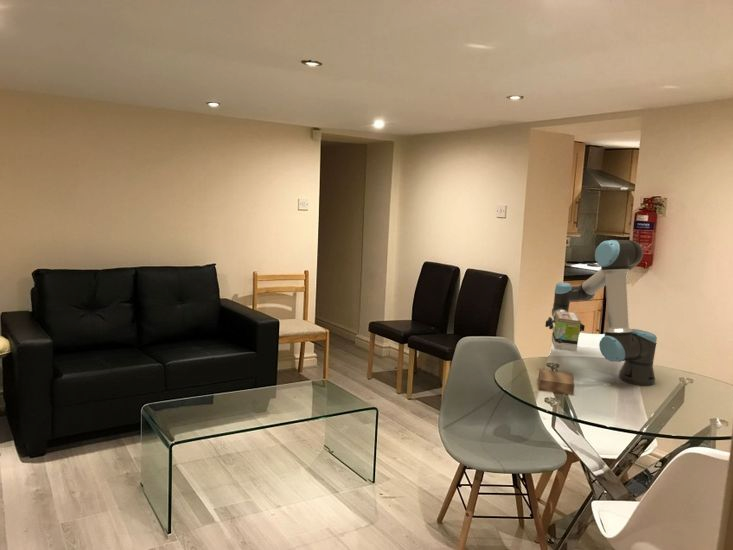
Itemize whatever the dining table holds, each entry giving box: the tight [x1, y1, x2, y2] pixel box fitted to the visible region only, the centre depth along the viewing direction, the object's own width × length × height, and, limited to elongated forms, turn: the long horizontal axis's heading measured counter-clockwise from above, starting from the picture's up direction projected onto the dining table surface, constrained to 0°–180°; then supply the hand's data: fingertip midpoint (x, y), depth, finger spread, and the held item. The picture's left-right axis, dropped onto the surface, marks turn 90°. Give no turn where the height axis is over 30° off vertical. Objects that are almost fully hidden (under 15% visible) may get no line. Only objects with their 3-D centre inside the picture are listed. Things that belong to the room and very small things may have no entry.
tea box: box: [551, 311, 582, 352], centre depth 271 cm, size 15×10×15 cm
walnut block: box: [537, 369, 575, 396], centre depth 258 cm, size 14×14×5 cm
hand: (566, 330), depth 267 cm, fingers closed on tea box, 10 cm apart
